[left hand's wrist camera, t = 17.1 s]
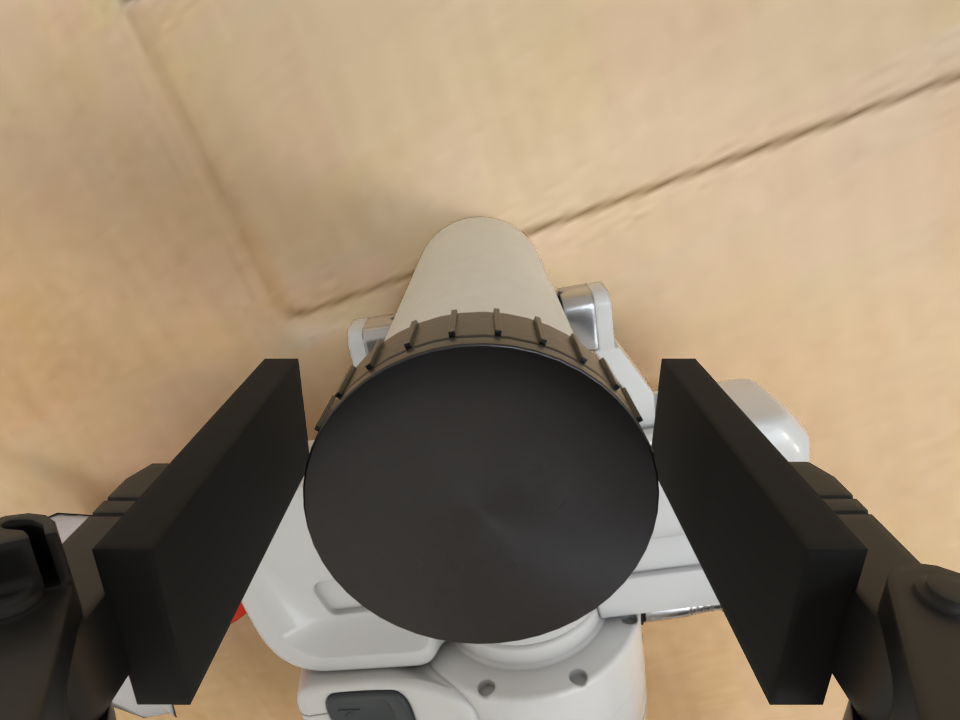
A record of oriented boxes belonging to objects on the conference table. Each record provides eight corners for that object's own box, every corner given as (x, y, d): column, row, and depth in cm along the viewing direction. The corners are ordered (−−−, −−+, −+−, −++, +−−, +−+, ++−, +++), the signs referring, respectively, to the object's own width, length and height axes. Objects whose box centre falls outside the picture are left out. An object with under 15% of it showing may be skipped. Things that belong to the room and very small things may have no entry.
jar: (568, 295, 26) (680, 516, 11) (466, 363, 27) (450, 642, 13) (495, 190, 24) (519, 290, 10) (390, 266, 25) (273, 459, 11)
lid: (518, 236, 11) (525, 258, 9) (696, 486, 12) (729, 542, 11) (256, 427, 12) (220, 477, 10) (452, 625, 14) (448, 695, 12)
